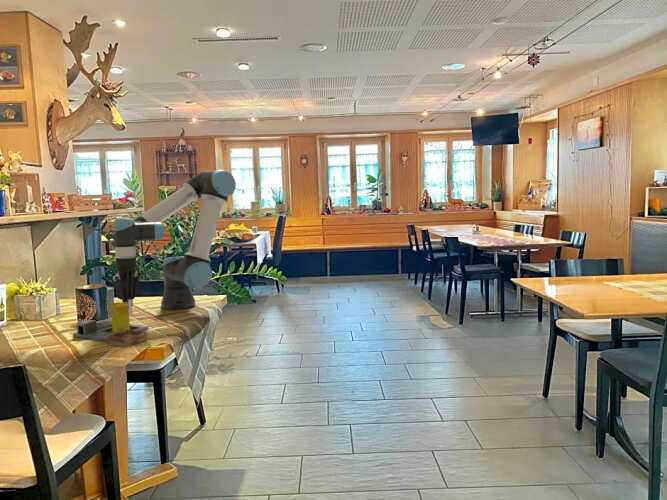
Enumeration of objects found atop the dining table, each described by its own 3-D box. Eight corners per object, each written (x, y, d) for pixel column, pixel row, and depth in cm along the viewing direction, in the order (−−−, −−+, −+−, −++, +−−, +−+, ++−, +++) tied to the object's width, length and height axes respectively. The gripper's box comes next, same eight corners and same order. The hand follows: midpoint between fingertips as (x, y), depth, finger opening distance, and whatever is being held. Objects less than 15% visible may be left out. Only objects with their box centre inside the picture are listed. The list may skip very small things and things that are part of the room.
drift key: (118, 320, 197) (117, 313, 196) (123, 321, 195) (123, 314, 195) (87, 329, 184) (87, 321, 184) (93, 330, 183) (93, 322, 182)
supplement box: (112, 331, 187) (110, 303, 186) (129, 329, 189) (128, 301, 188) (112, 335, 181) (110, 306, 180) (130, 333, 184) (128, 304, 183)
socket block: (113, 324, 196) (112, 312, 196) (148, 329, 189) (147, 316, 188) (73, 336, 180) (72, 323, 180) (109, 342, 173) (108, 328, 172)
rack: (127, 336, 180) (126, 329, 179) (147, 339, 176) (147, 332, 175) (105, 343, 171) (104, 336, 171) (125, 347, 167) (125, 339, 167)
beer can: (105, 321, 203) (103, 291, 202) (84, 319, 205) (83, 290, 203) (119, 315, 212) (118, 287, 211) (100, 314, 214) (98, 286, 213)
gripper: (131, 254, 204) (133, 311, 207) (105, 258, 193) (108, 318, 195) (145, 255, 201) (147, 312, 204) (119, 259, 189) (122, 319, 192)
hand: (128, 315), depth 199 cm, fingers closed
